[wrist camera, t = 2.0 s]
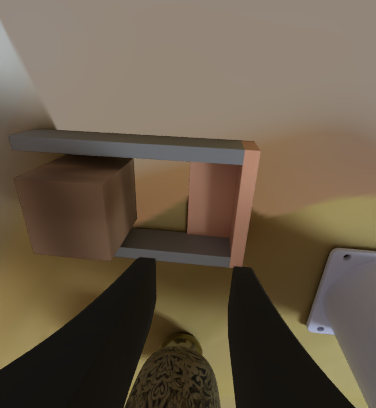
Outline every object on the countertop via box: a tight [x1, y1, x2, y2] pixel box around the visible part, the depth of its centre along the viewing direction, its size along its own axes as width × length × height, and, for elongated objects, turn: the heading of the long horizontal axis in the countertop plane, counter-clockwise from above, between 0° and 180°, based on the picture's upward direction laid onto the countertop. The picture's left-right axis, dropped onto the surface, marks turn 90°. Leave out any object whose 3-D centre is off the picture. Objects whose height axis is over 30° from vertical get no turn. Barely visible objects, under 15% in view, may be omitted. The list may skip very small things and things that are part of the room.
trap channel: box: [8, 129, 261, 268], centre depth 16 cm, size 14×8×2 cm, turn 88°
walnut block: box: [14, 154, 137, 261], centre depth 16 cm, size 4×4×5 cm
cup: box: [125, 333, 220, 408], centre depth 20 cm, size 8×7×8 cm
